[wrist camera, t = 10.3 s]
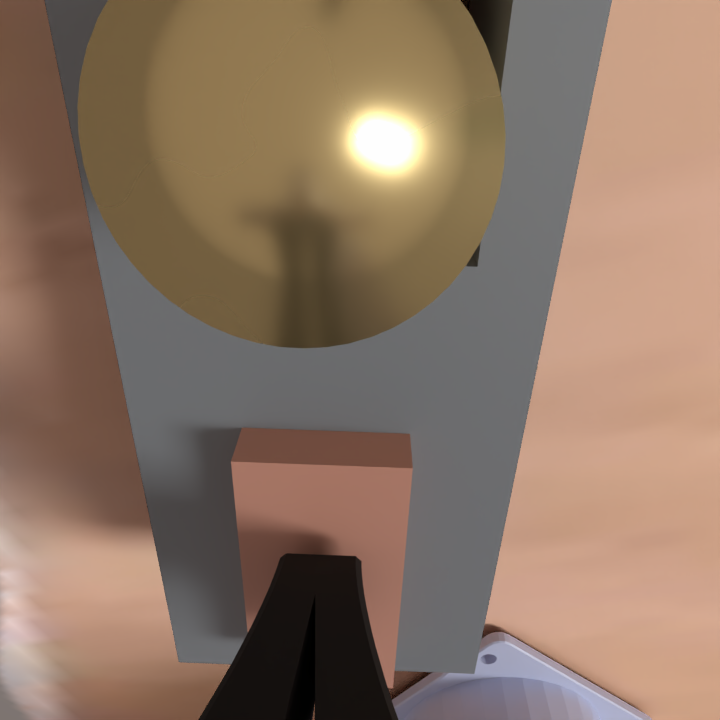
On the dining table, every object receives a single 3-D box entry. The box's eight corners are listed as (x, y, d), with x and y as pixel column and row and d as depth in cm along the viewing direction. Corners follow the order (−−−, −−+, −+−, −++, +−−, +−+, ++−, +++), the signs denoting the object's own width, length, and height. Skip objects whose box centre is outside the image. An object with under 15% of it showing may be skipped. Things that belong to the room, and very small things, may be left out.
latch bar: (392, 645, 14) (392, 688, 13) (260, 640, 14) (252, 682, 13) (410, 432, 11) (412, 468, 10) (242, 425, 11) (230, 461, 10)
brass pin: (359, 186, 13) (337, 408, 6) (225, 84, 12) (12, 203, 5) (462, 48, 11) (598, 122, 4) (322, -79, 10) (216, -238, 3)
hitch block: (455, 543, 18) (474, 674, 14) (217, 534, 18) (179, 662, 14) (562, -166, 10) (665, -258, 6) (125, -179, 10) (-13, -278, 6)
